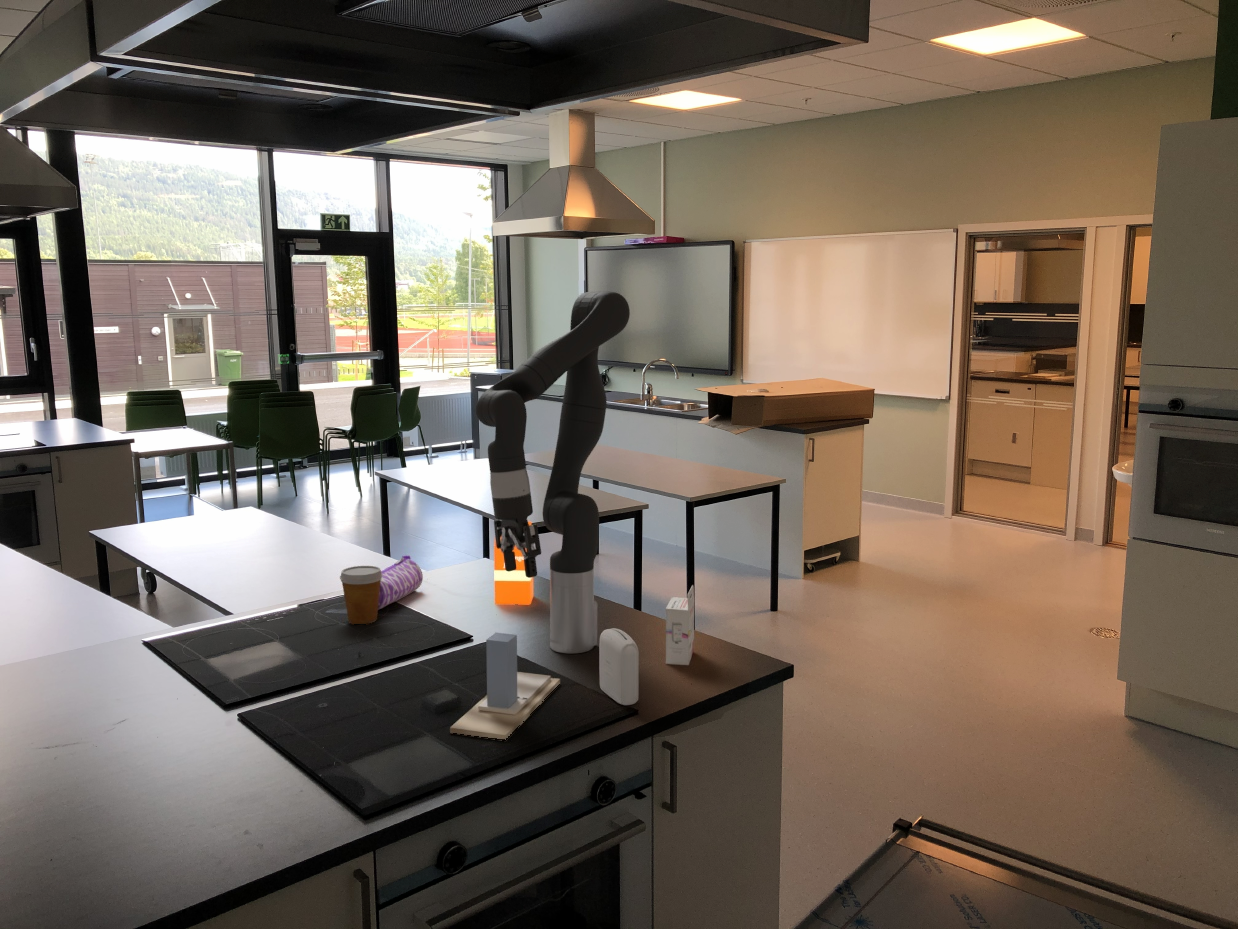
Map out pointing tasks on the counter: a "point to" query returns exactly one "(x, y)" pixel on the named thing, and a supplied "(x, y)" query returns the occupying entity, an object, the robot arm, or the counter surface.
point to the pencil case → (399, 581)
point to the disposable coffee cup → (361, 593)
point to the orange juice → (511, 580)
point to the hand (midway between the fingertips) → (521, 573)
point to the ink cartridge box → (680, 629)
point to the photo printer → (618, 666)
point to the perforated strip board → (504, 724)
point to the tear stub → (502, 675)
